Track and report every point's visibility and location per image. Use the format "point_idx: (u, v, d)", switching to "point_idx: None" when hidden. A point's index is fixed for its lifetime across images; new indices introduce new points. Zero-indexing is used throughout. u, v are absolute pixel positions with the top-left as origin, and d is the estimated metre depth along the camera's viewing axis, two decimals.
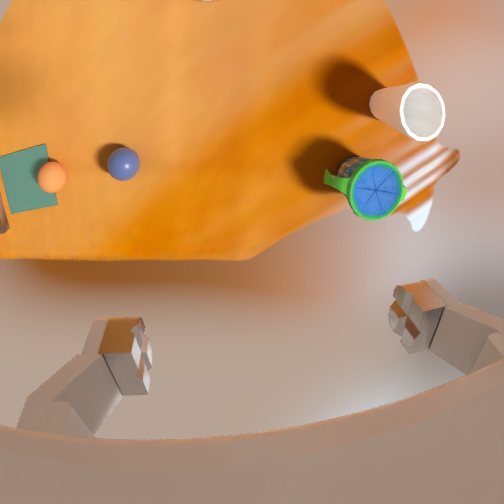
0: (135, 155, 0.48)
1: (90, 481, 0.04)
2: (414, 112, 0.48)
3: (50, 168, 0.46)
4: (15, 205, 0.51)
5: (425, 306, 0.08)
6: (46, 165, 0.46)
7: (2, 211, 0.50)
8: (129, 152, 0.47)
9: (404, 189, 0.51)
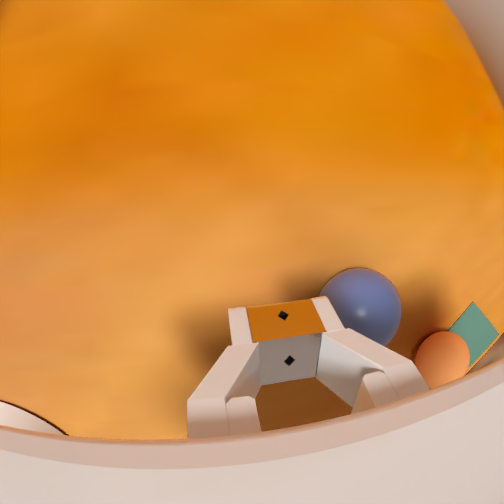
0: None
1: (90, 481, 0.04)
2: None
3: (433, 385, 0.24)
4: (488, 339, 0.31)
5: (296, 330, 0.08)
6: (430, 387, 0.25)
7: (499, 348, 0.32)
8: None
9: None
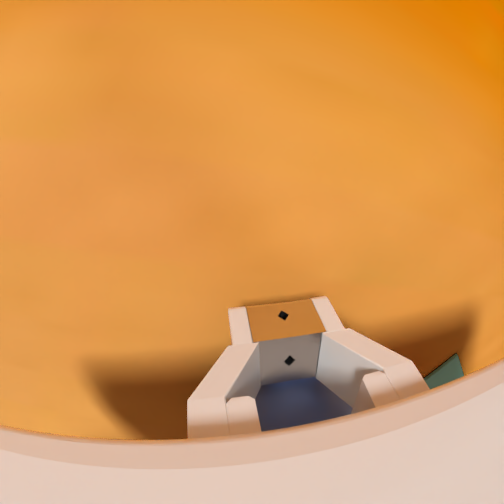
0: None
1: (90, 481, 0.04)
2: None
3: None
4: None
5: (296, 330, 0.08)
6: None
7: None
8: None
9: None
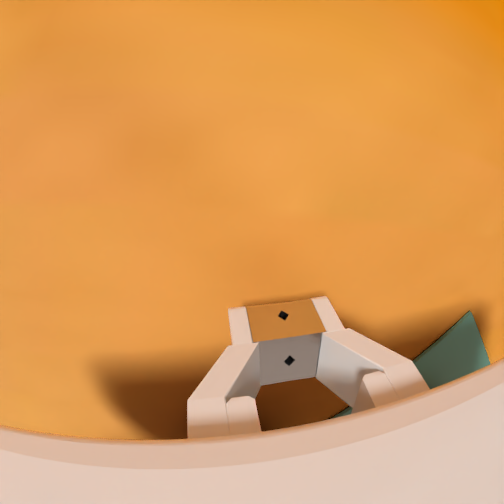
0: None
1: (90, 481, 0.04)
2: None
3: None
4: None
5: (296, 330, 0.08)
6: None
7: None
8: None
9: None
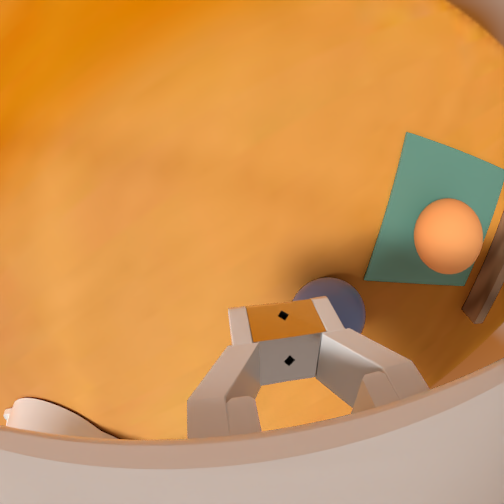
0: None
1: (90, 481, 0.04)
2: None
3: None
4: (491, 181, 0.22)
5: (296, 330, 0.08)
6: None
7: None
8: (310, 282, 0.23)
9: None
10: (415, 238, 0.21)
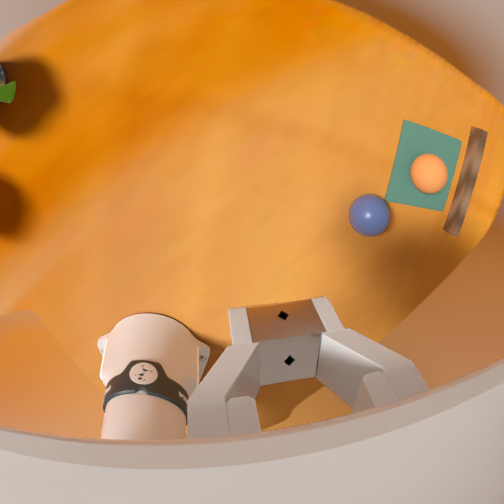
0: None
1: (90, 481, 0.04)
2: None
3: None
4: (453, 147, 0.40)
5: (296, 330, 0.08)
6: None
7: (470, 152, 0.40)
8: None
9: None
10: (411, 174, 0.40)
